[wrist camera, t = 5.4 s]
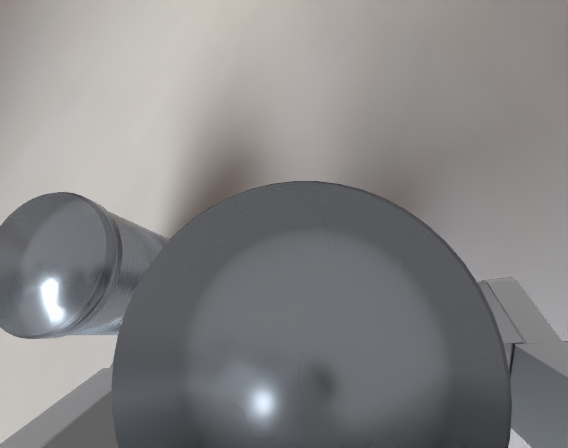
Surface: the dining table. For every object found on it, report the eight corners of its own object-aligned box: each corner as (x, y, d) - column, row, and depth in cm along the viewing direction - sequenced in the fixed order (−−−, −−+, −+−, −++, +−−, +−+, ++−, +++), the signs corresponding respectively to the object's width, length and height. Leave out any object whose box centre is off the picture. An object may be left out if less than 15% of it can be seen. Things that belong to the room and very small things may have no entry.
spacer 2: (251, 315, 13) (60, 290, 5) (360, 251, 13) (356, 111, 5) (315, 443, 12) (195, 725, 3) (439, 372, 12) (636, 482, 3)
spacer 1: (134, 276, 21) (-33, 237, 12) (202, 233, 20) (80, 164, 12) (163, 353, 19) (-7, 369, 11) (238, 307, 19) (124, 286, 10)
